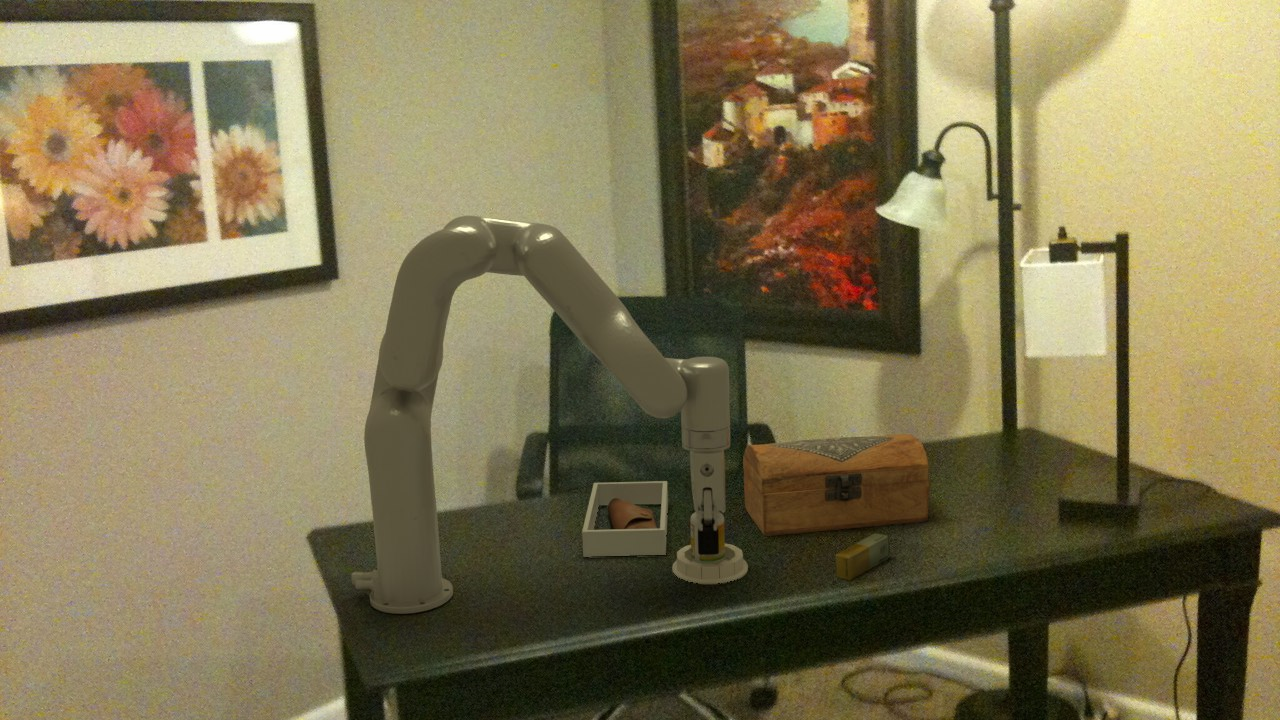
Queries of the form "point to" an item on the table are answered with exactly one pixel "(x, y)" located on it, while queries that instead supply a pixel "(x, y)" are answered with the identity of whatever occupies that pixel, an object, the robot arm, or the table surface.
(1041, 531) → the table surface
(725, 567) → the coaster tray
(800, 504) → the wooden box
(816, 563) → the table surface
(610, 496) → the frame
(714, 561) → the supplement bottle
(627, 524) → the sunglasses case
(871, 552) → the medication box
